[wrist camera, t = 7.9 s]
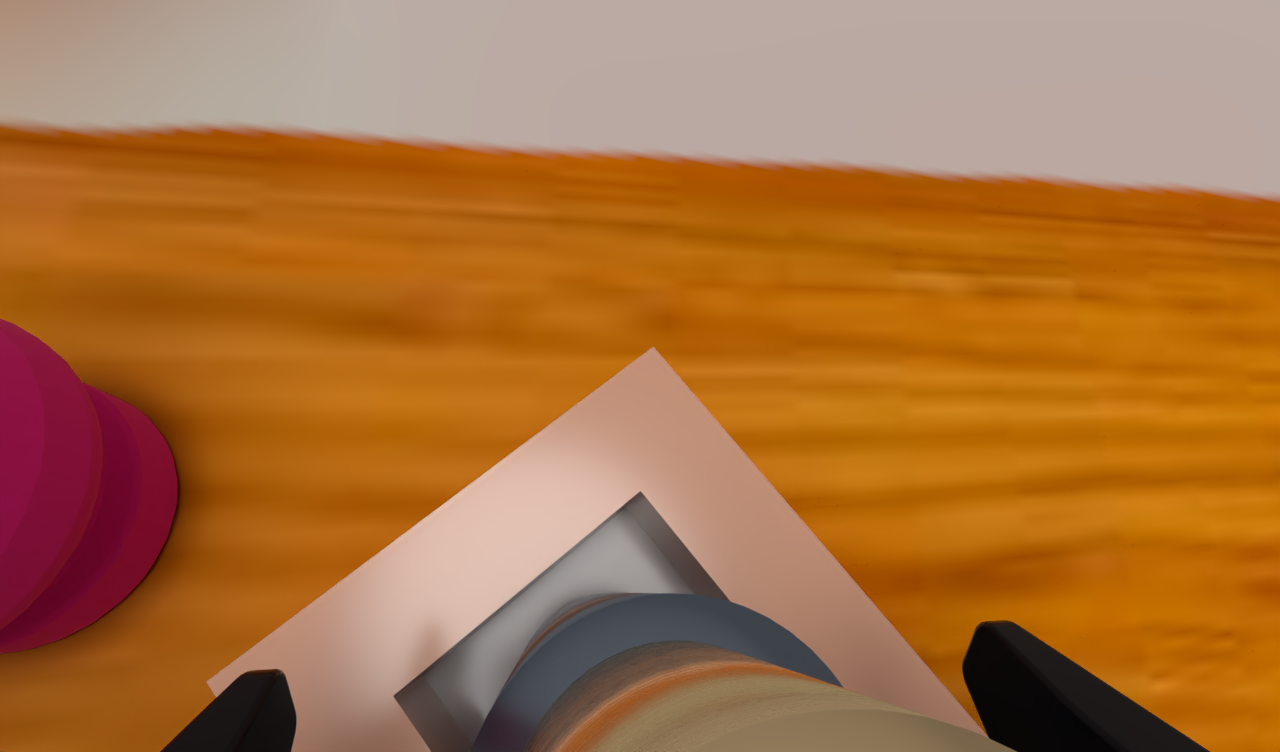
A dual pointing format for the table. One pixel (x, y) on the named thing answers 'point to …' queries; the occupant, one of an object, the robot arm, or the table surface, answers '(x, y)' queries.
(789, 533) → the socket block
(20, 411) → the pepper mill
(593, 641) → the tube
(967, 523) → the table surface
